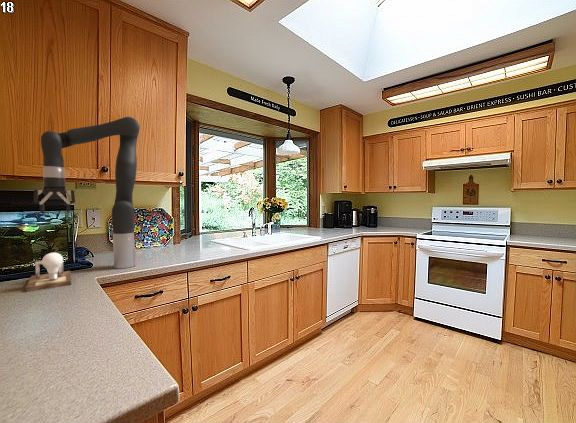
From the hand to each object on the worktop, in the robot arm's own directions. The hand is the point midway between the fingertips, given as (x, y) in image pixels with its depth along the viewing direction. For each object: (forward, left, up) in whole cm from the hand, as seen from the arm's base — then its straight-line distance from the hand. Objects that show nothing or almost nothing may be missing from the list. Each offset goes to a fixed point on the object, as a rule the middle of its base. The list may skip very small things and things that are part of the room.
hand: (55, 212), depth 123 cm
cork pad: (+2, +21, -27) cm, 34 cm away
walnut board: (+2, +15, -28) cm, 32 cm away
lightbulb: (+1, +20, -26) cm, 33 cm away
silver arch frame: (+2, +11, -27) cm, 29 cm away
